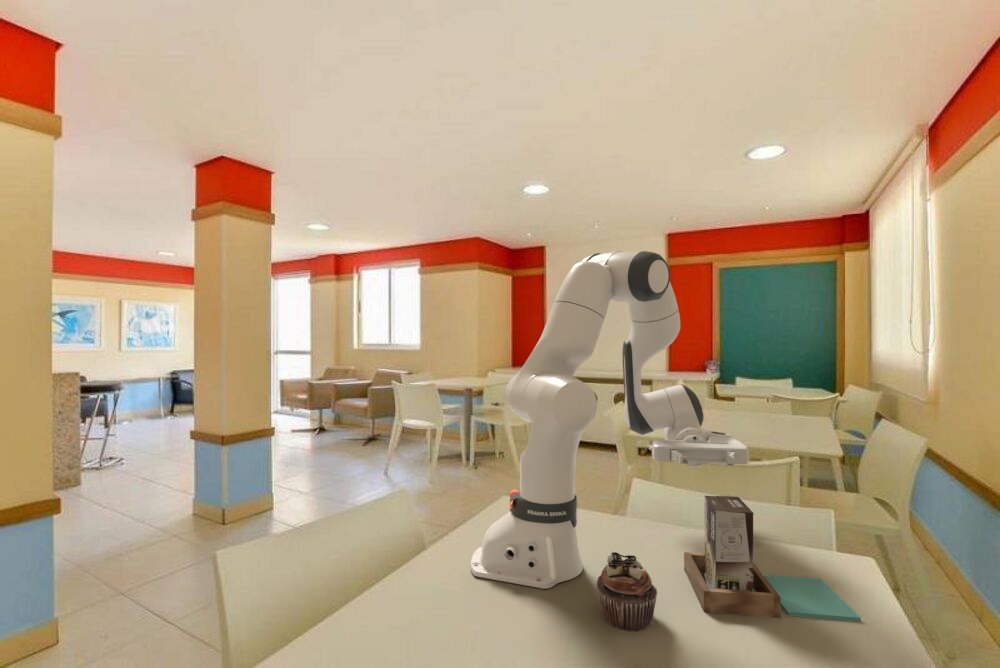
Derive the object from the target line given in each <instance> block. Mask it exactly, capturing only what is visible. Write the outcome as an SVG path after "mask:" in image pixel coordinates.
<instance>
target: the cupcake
mask: <svg viewBox="0 0 1000 668" xmlns="http://www.w3.org/2000/svg"><path fill="white" fill-rule="evenodd" d="M622 558H625V559H622ZM606 562H607V564H606V565H605V566H603V569H602V570H601V574H600V575H599V576H598V577H597V581H596V589H597V592H598V597H599V600H600V605H601V610H602V615H603V619H604V620H605V622H606V621H607V624H608V625H610V626H612V627H613V628H616V629H618V630H622V631H628V632H639V631H643V630H645V629H647V628H649V627H650V626H651V624H652V622H653V618H654V612H655V610H656V609H655V608H656V603H657V596H658V590H657V588H656V586H655V585H654V584H653V582H652V578H651V576H650V574H649V573H648V571H647V570H646V569H645V568H644V567H643V566H642V563H641V562H639V561H638V560H637V557H636V556H635V555H629V554H628V555H623V554H620V553H619V552H615V551H614V552H611V553H610V554H609V555H608V556H607V559H606Z"/></svg>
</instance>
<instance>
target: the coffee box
mask: <svg viewBox="0 0 1000 668" xmlns="http://www.w3.org/2000/svg"><path fill="white" fill-rule="evenodd" d="M703 497H704V500H703V501H704V502H703V503H704V506H703V508H704V509H703V510H704V553H705V574H704V581H705V583H706V585H707V586H708V588H710V589H724V590H737V591H750V592H754V589H753V563H754V512H753V510H751V508H749V507H748V505H747V504H746V503H745V502H744V501H743V500H742V499H741V498H740V497H739V496H730V495H729V496H728V495H715V496H714V495H704V496H703Z"/></svg>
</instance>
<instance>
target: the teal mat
mask: <svg viewBox="0 0 1000 668" xmlns="http://www.w3.org/2000/svg"><path fill="white" fill-rule="evenodd" d="M763 575H764V576H765V578H766V579H767V580H768V582H769V583H770V584H771V585H772V587H773V588H774V589H775V590H776V592H777V593H778V594H779V595H780V597H781V609H782V610H783V611H784V612H785V614H786V615H787V616H788V617H790V616H791V617H800V618H801V617H802V618H814V619H826V620H827V619H828V620H838V621H839V620H840V621H852V622H862V617H860V615H858V613H857V612H855V611H854V609H853V608H852V607H850V606H849V604H847V602H845V601H844V600H843V599H842V597H840V596H839V595H838V593H836V592H835V591H834V590H833V589H832V588H831V587H830V586H829V585H828V584H827V583H826V582H825V581H824V580H823V579H822V578H816V577H805V576H804V577H803V576H802V577H801V576H789V575H776V574H775V575H774V574H773V575H772V574H763Z"/></svg>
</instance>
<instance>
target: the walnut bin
mask: <svg viewBox="0 0 1000 668" xmlns="http://www.w3.org/2000/svg"><path fill="white" fill-rule="evenodd" d="M683 570H684V572H685V574H686V577H687V579H688V581H689V584H690V585H691V587H692V590H693V592H694V594H695V596H696V598H697V600H698V602H699V604H700V607H701V608H702V610H703V612H705V613H712V614H713V613H715V614H726V615H727V614H728V615H740V616H749V617H751V616H752V617H762V618H763V617H764V618H775V619H782V617H781V615H782V613H781V611H782V607H781V597H780V595H779V594H778V593H777V592H776V590H775V589H774V588H773V587H772V585H771V584H770V583H769V582H768V580H767V579H766V578H765V576H764V575H765V574H764V573H762V572H761V570H760V568H759V567H758V566H757V565H756V563H754V562H753V592H750V591H737V590H724V589H710V588H709V586H708V584H707V582H706V580H705V578H704V577H703V575H702V574H704V575H705V552H704V553H703V552H701V553H700V552H688V551H685V552H683Z"/></svg>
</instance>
